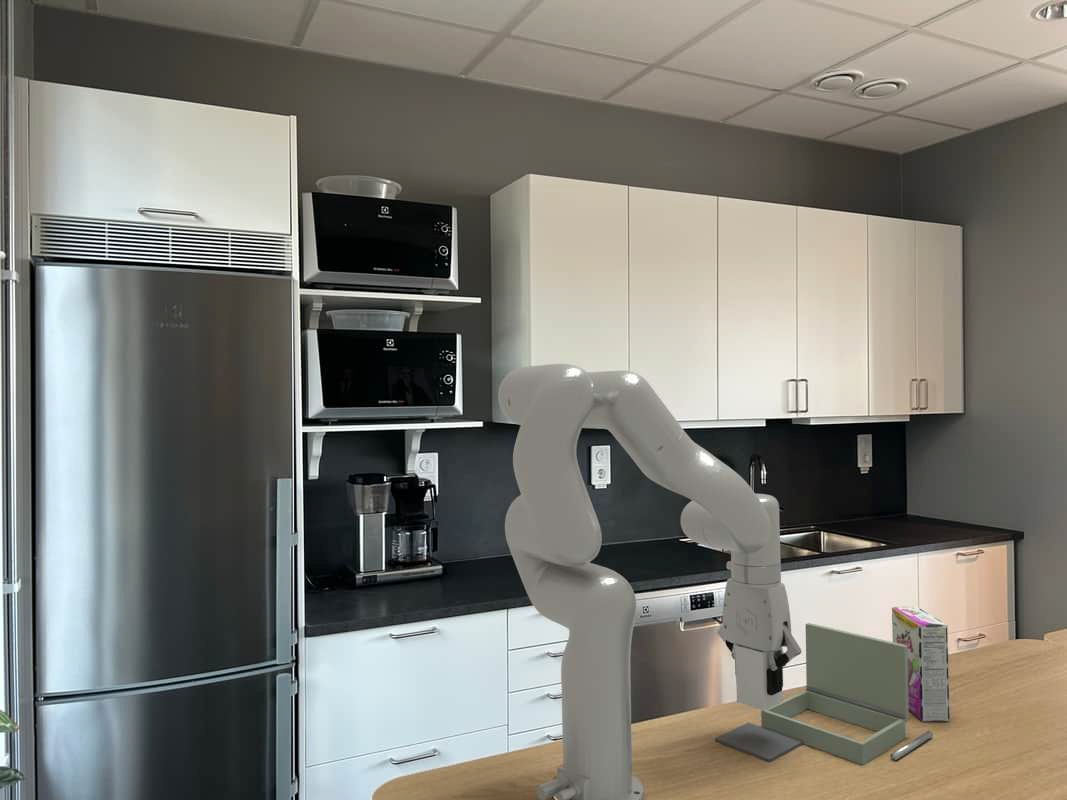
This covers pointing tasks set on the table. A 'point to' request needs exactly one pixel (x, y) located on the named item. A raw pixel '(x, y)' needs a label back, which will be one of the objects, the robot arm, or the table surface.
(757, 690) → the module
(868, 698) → the case
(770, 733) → the mat
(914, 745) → the rod
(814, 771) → the table surface
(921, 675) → the candy bar box
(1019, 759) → the table surface
